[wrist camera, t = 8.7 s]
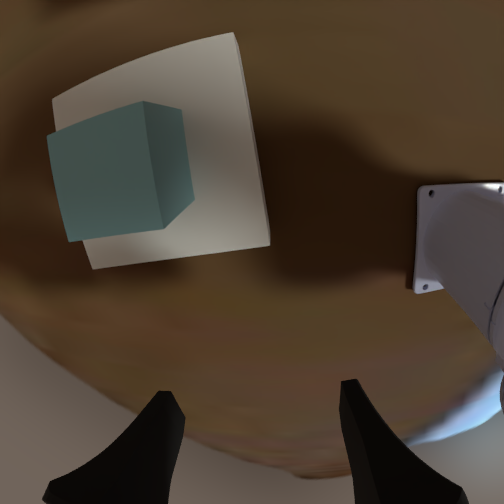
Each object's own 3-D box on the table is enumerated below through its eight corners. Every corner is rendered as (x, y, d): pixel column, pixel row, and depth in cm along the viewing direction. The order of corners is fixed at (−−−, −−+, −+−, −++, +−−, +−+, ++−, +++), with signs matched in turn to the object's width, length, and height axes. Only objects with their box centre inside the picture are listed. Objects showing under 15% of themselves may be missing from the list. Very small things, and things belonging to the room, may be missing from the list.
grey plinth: (239, 47, 14) (233, 32, 12) (270, 228, 19) (270, 245, 16) (77, 100, 16) (51, 99, 13) (112, 252, 20) (92, 269, 18)
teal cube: (181, 109, 14) (142, 100, 9) (195, 199, 15) (163, 229, 11) (102, 130, 14) (46, 135, 9) (116, 211, 16) (68, 242, 11)
